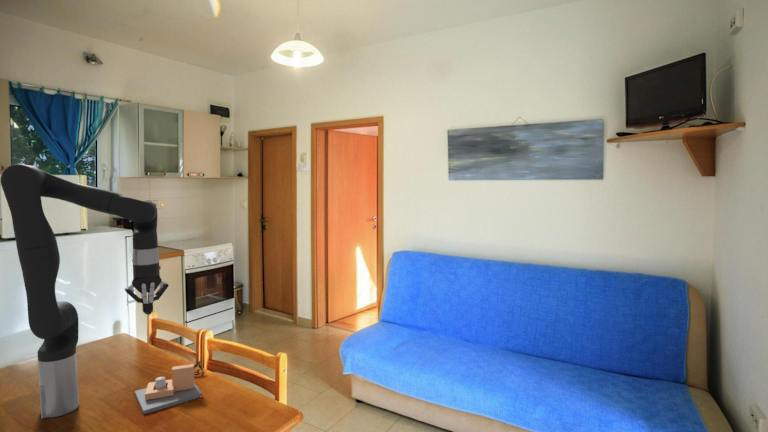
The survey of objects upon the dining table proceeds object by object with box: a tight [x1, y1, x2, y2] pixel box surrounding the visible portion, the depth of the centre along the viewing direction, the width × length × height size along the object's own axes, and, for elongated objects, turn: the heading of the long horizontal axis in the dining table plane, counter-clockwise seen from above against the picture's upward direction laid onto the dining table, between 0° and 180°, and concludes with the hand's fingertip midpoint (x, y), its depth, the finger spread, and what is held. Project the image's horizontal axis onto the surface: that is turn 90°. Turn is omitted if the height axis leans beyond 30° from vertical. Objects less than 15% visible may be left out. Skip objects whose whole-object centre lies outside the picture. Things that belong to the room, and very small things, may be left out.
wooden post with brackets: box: [194, 360, 204, 374], centre depth 154 cm, size 2×8×4 cm, turn 146°
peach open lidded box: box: [145, 363, 195, 400], centre depth 139 cm, size 14×8×8 cm, turn 112°
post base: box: [134, 376, 203, 415], centre depth 139 cm, size 17×15×6 cm
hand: (148, 313), depth 139 cm, fingers closed
